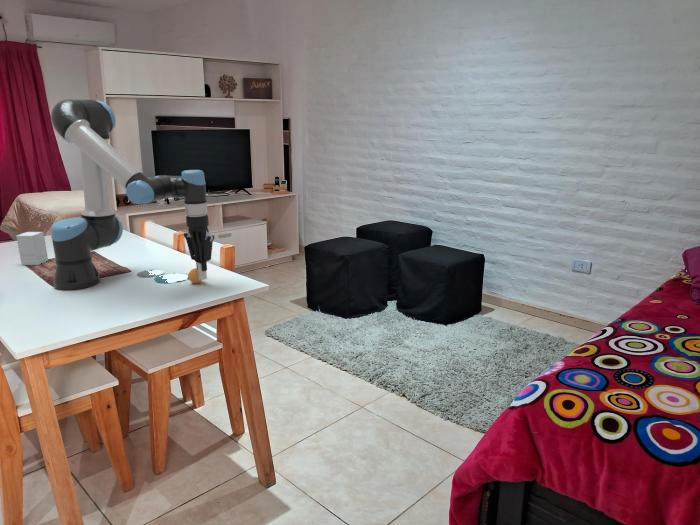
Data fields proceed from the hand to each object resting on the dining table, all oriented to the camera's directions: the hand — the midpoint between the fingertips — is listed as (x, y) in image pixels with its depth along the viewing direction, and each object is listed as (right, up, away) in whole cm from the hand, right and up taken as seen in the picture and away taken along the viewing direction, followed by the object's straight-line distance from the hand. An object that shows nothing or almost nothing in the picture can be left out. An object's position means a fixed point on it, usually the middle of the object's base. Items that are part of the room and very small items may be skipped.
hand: (202, 279), depth 194 cm
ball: (-3, +1, +2) cm, 3 cm away
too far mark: (-24, +2, +14) cm, 28 cm away
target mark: (-14, 0, +8) cm, 16 cm away
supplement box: (-78, +6, +30) cm, 84 cm away
